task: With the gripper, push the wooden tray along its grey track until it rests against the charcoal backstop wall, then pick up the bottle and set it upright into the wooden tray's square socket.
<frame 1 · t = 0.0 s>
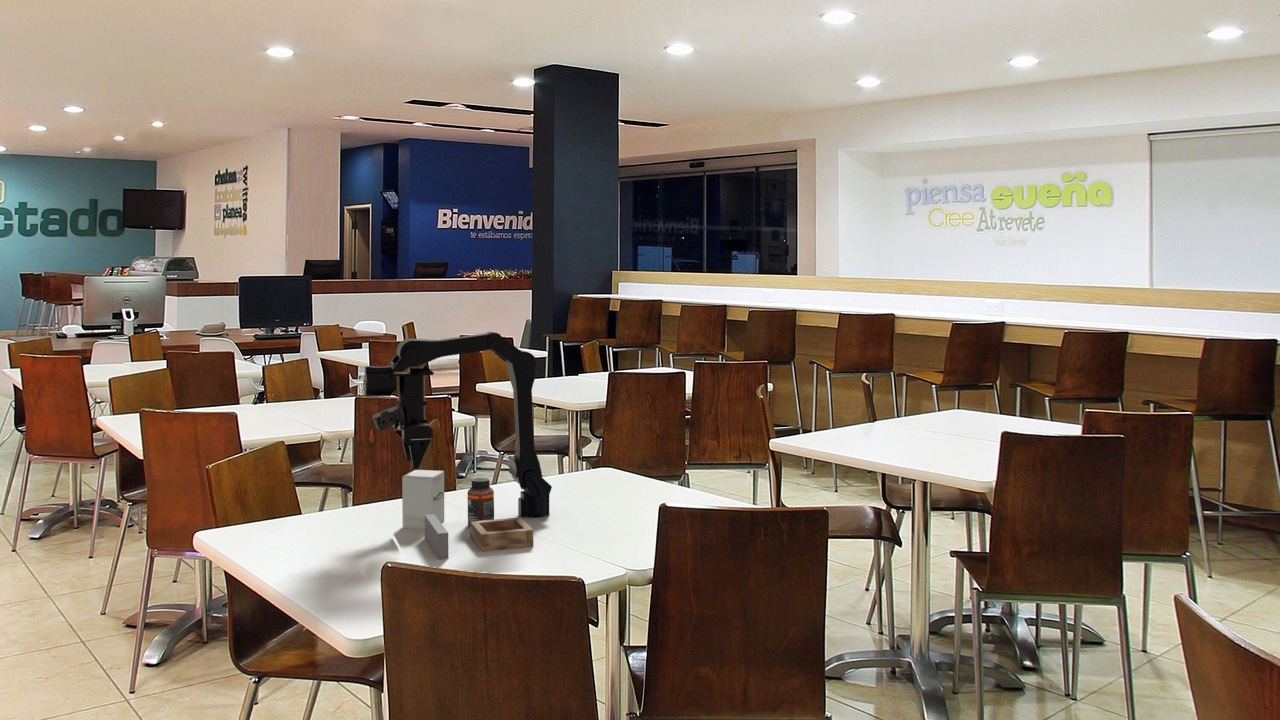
hand: (412, 464, 225), 15 cm above the table, fingers open, 9 cm apart
supplement box: (423, 528, 227), on the table
wooden tray: (501, 533, 213), point 3 cm above the table, slide at 0.0 cm
supplement bottle: (481, 529, 227), on the table
backstop: (482, 547, 212), on the table
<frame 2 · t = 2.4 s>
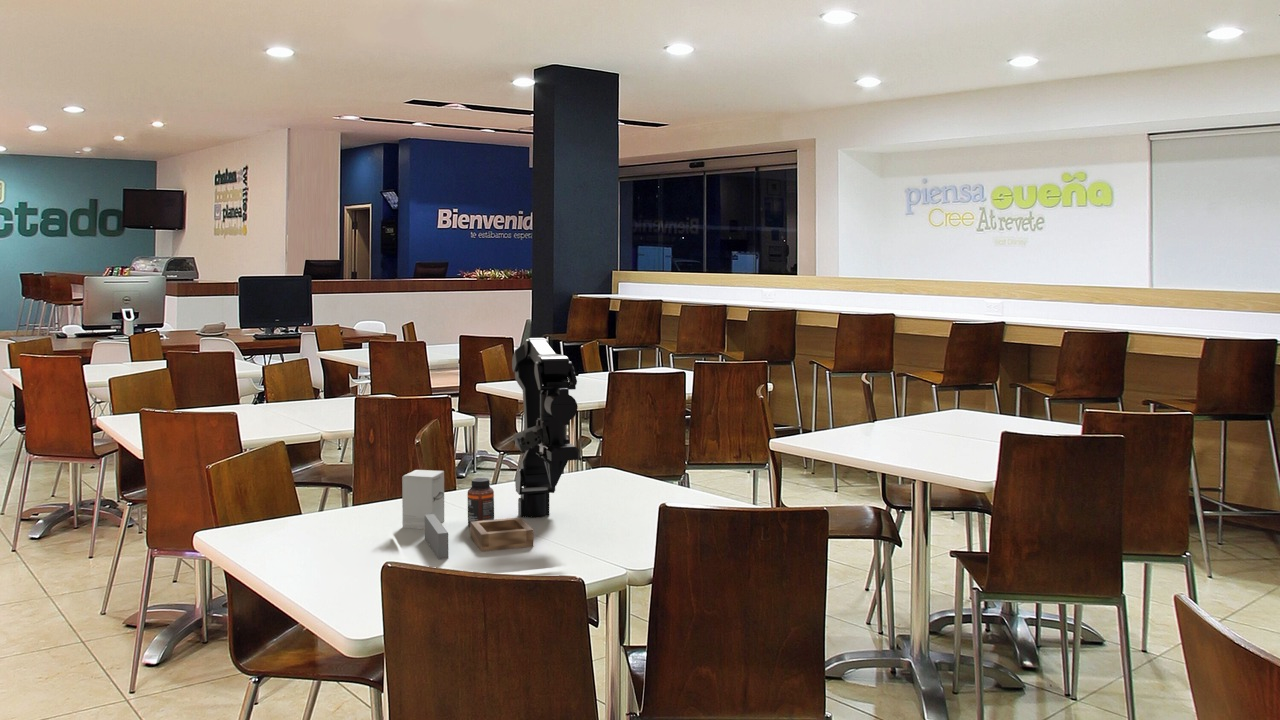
hand: (553, 486, 216), 12 cm above the table, fingers closed
nothing on the table moved.
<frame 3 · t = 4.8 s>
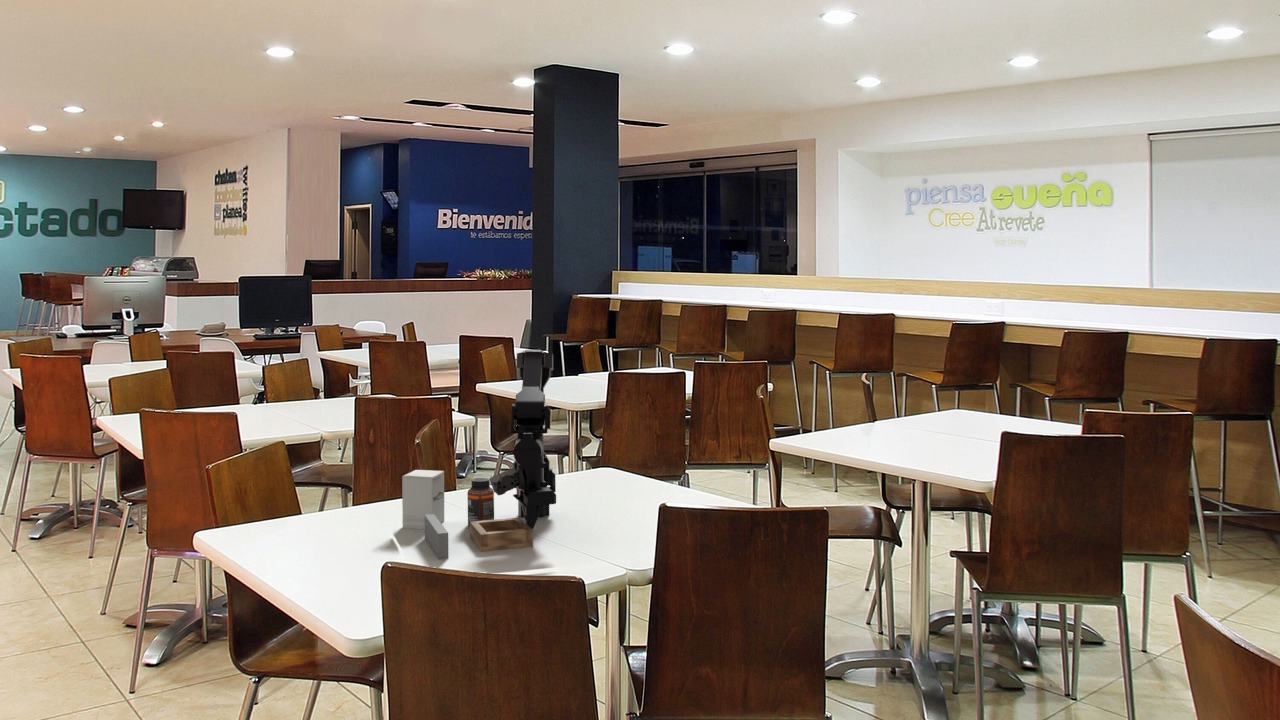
hand: (530, 528, 215), 3 cm above the table, fingers closed, pressing on wooden tray
wooden tray: (500, 533, 213), point 3 cm above the table, slide at 0.1 cm, touching gripper
everything else where it was.
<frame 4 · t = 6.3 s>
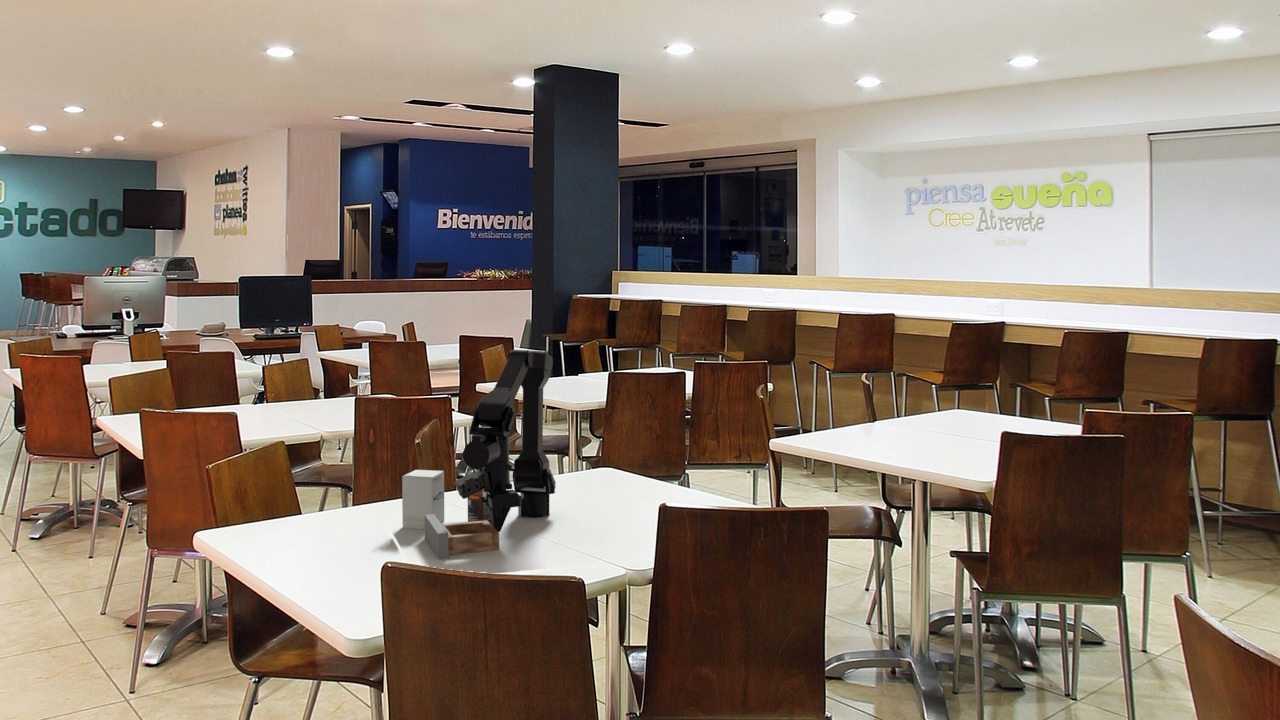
hand: (497, 531, 213), 3 cm above the table, fingers closed, pressing on wooden tray
wooden tray: (467, 536, 210), point 3 cm above the table, slide at 7.3 cm, touching backstop, gripper
everything else where it was.
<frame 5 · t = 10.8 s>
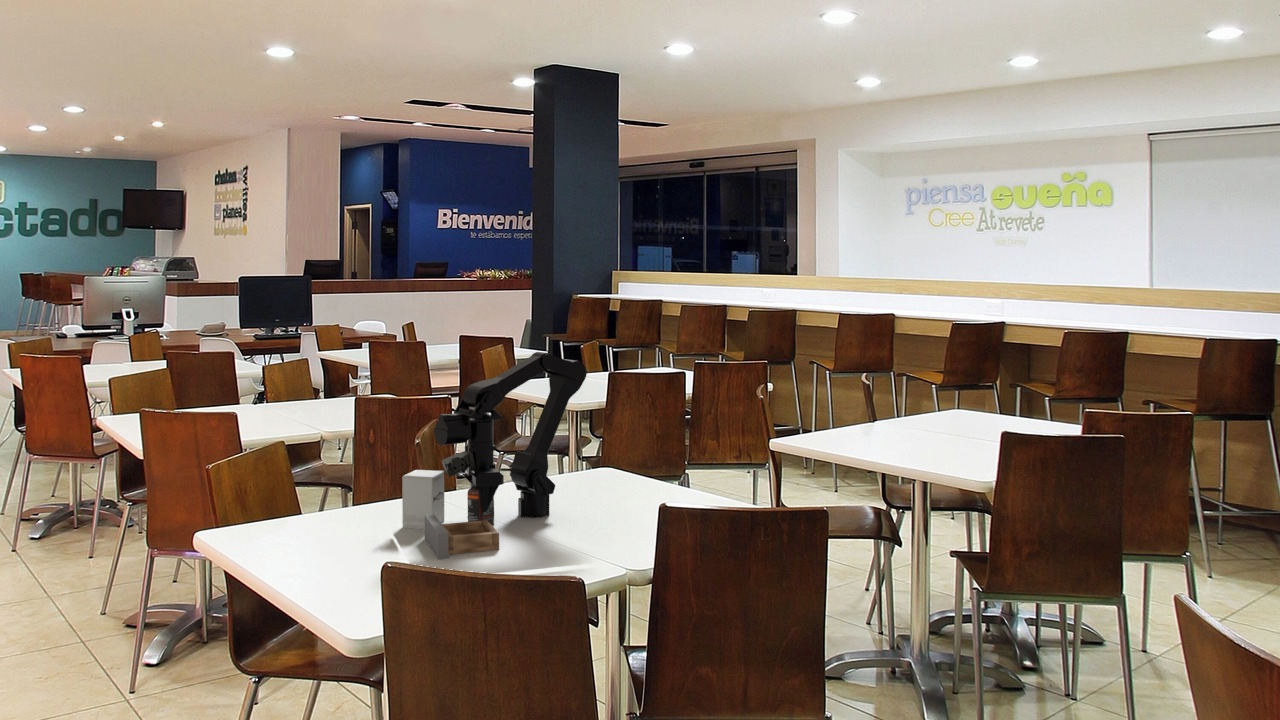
hand: (481, 508, 226), 5 cm above the table, fingers closed on supplement bottle, 6 cm apart
wooden tray: (467, 536, 210), point 3 cm above the table, slide at 7.3 cm, touching backstop
supplement bottle: (481, 529, 227), on the table, touching gripper
everything else where it was.
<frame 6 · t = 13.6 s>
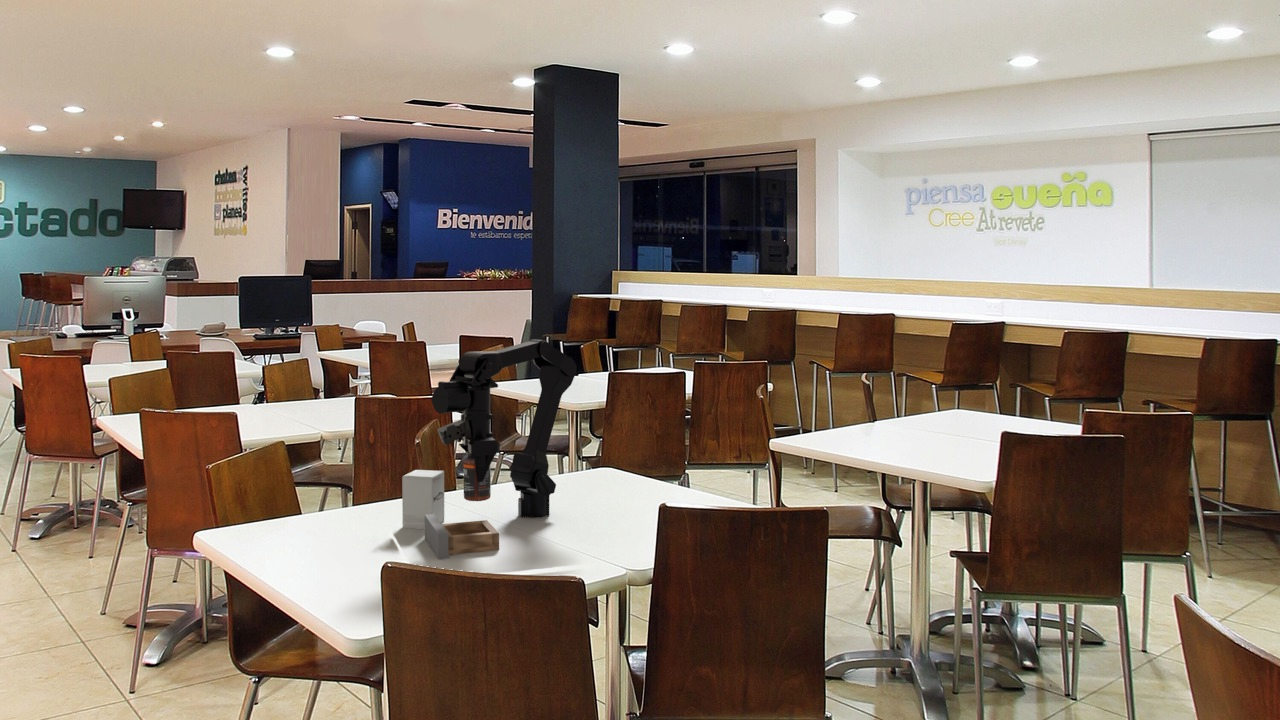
hand: (477, 478, 222), 12 cm above the table, fingers closed on supplement bottle, 6 cm apart
supplement bottle: (477, 499, 222), point 7 cm above the table, touching gripper
everything else where it was.
when the fingers open (7 cm above the table, at t = 16.3 s): supplement bottle stays where it is, resting on wooden tray.
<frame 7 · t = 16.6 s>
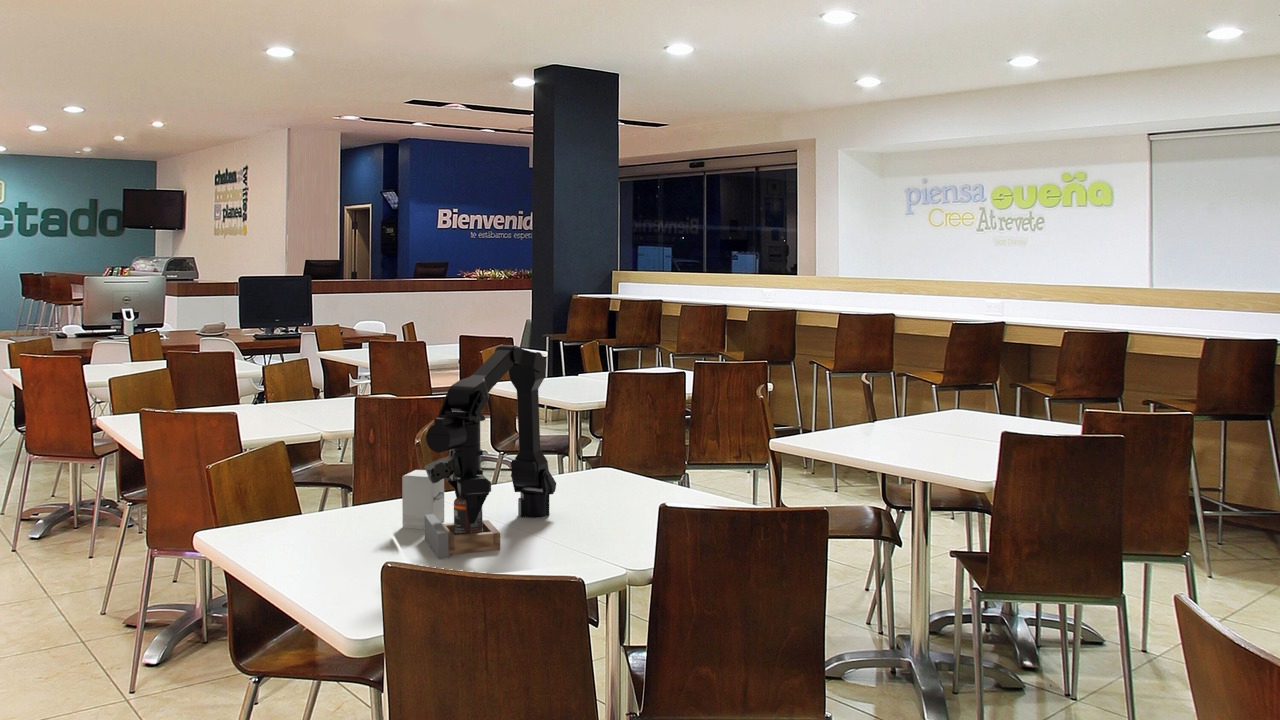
hand: (467, 518, 210), 7 cm above the table, fingers open, 9 cm apart
wooden tray: (468, 536, 210), point 3 cm above the table, slide at 7.0 cm, touching supplement bottle
supplement bottle: (468, 542, 211), point 1 cm above the table, touching wooden tray
everything else where it was.
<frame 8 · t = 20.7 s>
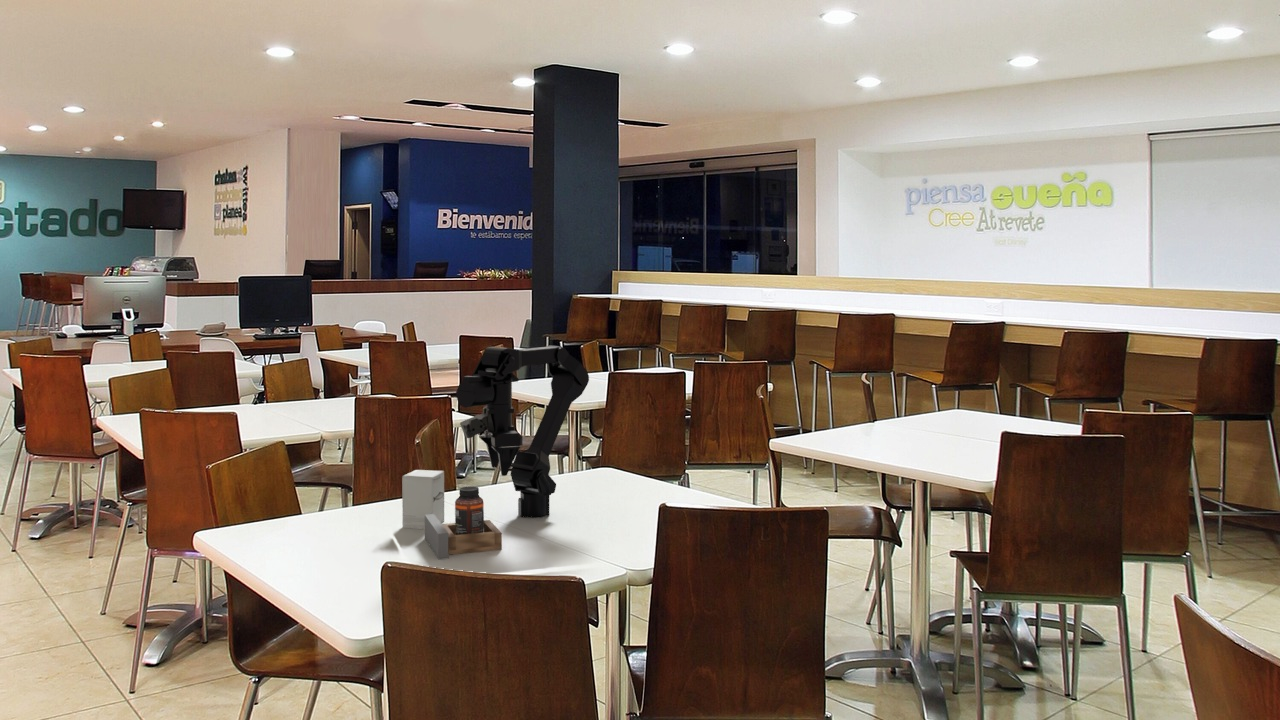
hand: (499, 471, 226), 13 cm above the table, fingers open, 9 cm apart
nothing on the table moved.
at the end: wooden tray slide at 6.8 cm; supplement bottle 0.6 cm from the target spot, point 1.4 cm above the table; supplement bottle tilted 0° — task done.
